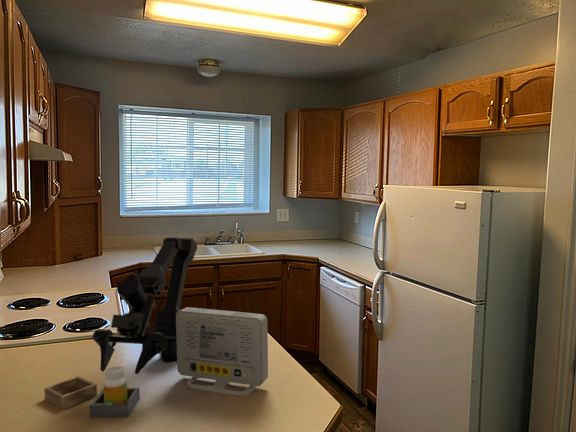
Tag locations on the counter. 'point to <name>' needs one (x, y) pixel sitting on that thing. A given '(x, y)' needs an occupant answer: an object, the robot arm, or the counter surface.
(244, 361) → the network device
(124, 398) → the supplement bottle
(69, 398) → the holder sleeve
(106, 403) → the dock collar
